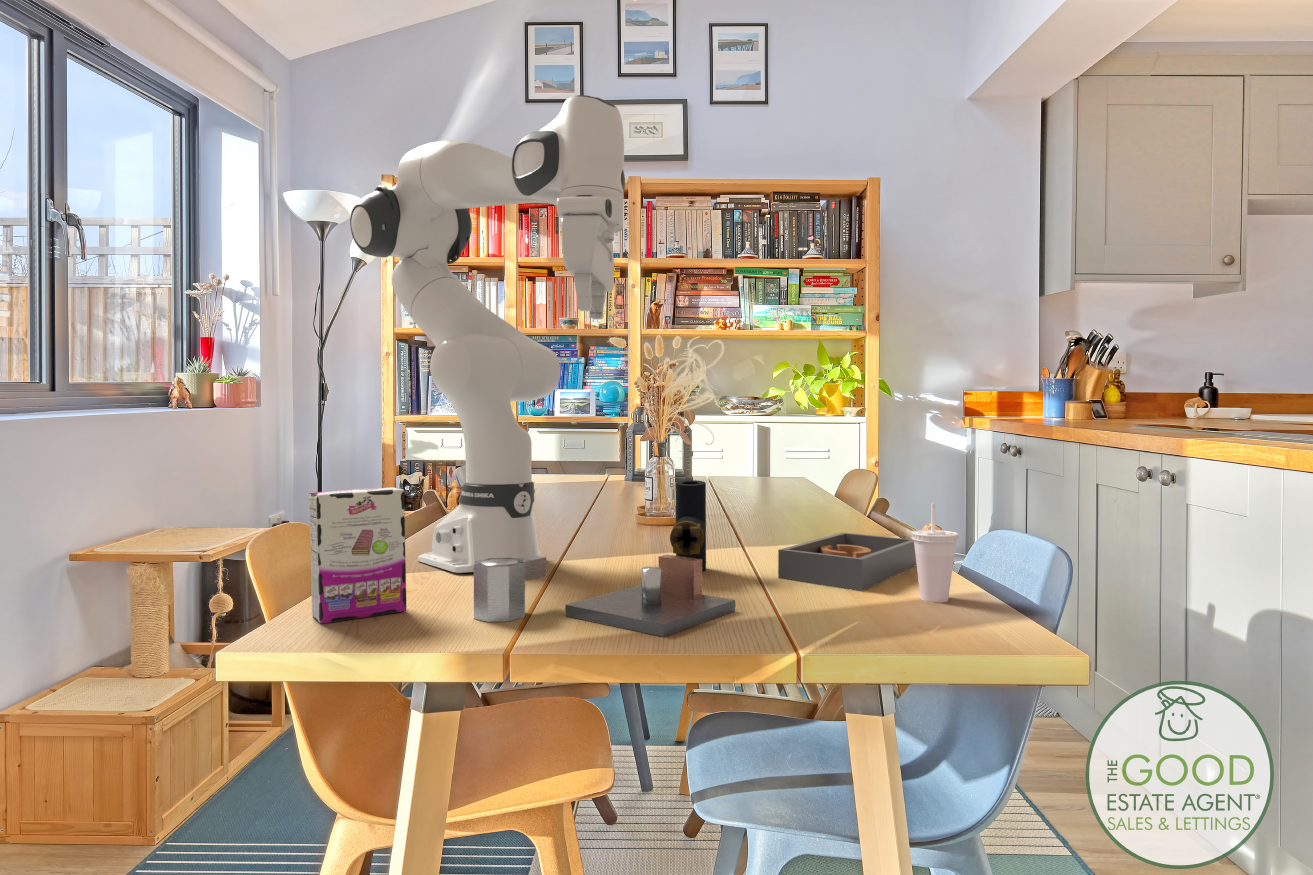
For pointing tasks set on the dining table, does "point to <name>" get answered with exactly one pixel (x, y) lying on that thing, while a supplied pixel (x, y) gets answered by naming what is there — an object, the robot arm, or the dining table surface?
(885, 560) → the parts corral
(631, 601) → the grey square stand
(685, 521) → the pipe connector
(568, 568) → the dining table surface
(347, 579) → the candy bar box
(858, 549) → the brown oblong hollow piece
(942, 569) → the smoothie
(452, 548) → the robot arm
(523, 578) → the octagonal handled mug
